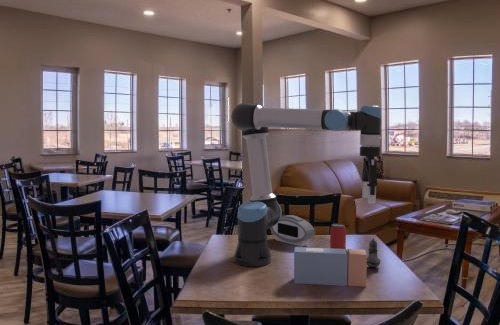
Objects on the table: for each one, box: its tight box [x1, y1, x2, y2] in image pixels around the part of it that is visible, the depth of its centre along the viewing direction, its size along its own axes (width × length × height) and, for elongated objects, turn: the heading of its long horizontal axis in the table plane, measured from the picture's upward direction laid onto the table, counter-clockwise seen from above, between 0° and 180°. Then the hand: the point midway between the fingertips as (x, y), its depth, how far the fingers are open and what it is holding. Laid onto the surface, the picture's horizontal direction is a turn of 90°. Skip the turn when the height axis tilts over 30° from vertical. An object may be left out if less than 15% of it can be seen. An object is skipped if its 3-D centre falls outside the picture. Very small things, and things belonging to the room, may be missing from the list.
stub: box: [346, 248, 368, 288], centre depth 145 cm, size 6×6×11 cm
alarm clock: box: [269, 214, 316, 247], centre depth 199 cm, size 23×6×13 cm, turn 43°
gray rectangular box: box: [293, 246, 348, 287], centre depth 147 cm, size 18×6×12 cm, turn 81°
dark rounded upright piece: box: [367, 238, 382, 271], centre depth 160 cm, size 6×6×12 cm
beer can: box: [329, 223, 347, 250], centre depth 183 cm, size 7×7×12 cm
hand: (368, 200), depth 164 cm, fingers open, 13 cm apart
